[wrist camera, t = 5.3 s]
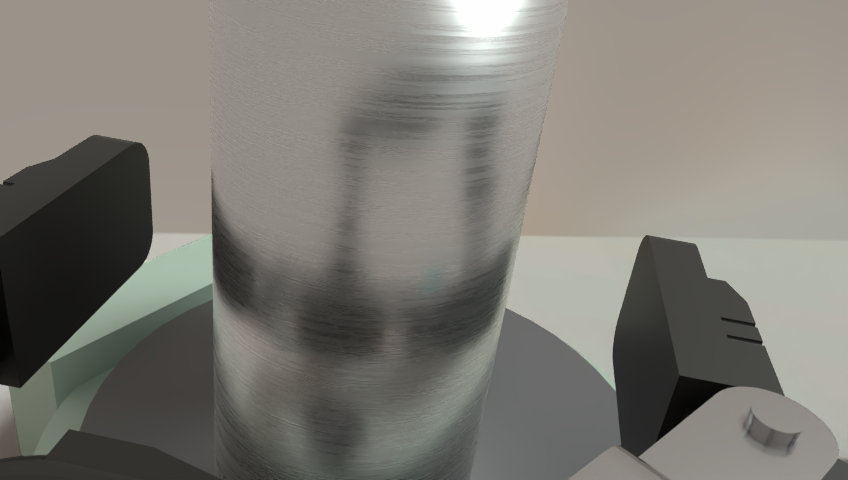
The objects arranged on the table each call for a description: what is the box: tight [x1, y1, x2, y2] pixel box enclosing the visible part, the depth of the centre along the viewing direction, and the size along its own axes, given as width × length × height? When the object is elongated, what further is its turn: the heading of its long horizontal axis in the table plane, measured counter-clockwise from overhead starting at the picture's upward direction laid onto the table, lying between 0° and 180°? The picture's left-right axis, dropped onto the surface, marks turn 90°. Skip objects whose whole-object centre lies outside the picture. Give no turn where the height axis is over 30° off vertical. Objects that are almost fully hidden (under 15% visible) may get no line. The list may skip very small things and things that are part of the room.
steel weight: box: [209, 0, 569, 480], centre depth 11 cm, size 4×4×10 cm
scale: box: [9, 234, 621, 480], centre depth 18 cm, size 16×14×4 cm
